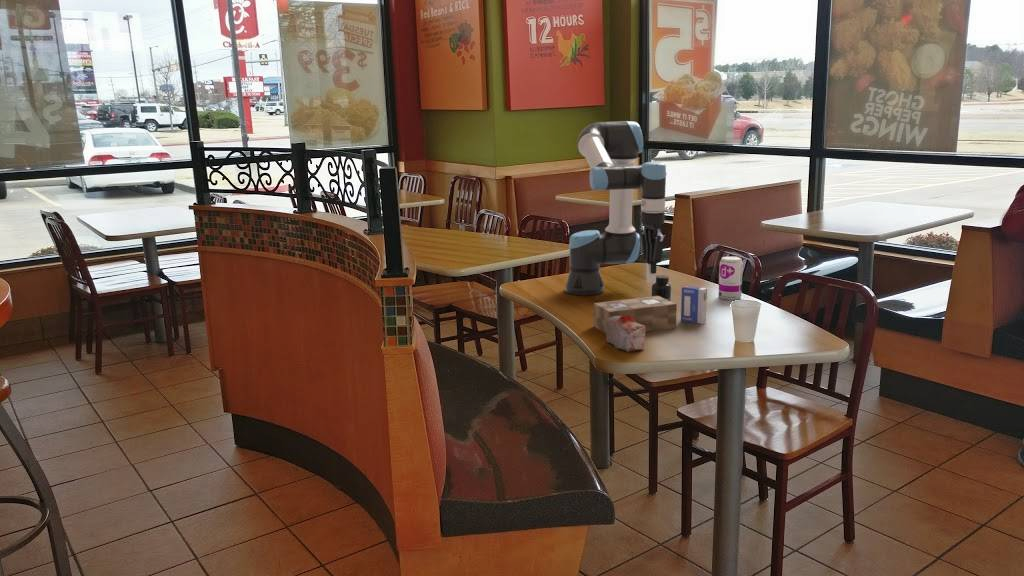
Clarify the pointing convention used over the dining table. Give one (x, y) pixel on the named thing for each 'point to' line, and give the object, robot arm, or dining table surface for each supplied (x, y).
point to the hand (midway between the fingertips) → (651, 282)
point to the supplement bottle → (662, 287)
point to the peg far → (650, 301)
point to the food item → (625, 333)
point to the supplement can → (730, 278)
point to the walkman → (693, 304)
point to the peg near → (618, 305)
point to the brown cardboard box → (638, 313)
